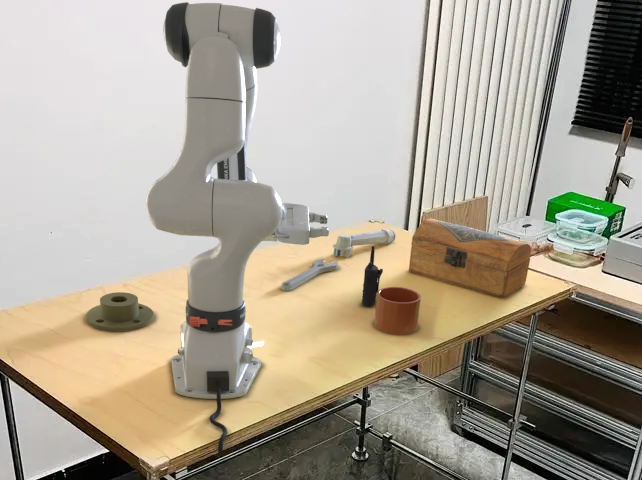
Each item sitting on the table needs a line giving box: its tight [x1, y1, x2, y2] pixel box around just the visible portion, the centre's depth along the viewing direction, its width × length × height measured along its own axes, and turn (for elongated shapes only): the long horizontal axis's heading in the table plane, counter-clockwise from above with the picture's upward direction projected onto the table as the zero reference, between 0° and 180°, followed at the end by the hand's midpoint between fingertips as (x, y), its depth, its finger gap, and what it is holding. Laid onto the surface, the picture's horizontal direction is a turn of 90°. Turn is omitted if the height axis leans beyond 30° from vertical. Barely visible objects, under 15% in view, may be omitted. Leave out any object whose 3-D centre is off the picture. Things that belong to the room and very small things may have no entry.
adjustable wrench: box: [281, 258, 339, 292], centre depth 220 cm, size 25×6×2 cm, turn 147°
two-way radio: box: [361, 245, 384, 308], centre depth 202 cm, size 6×4×15 cm
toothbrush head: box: [332, 228, 397, 258], centre depth 242 cm, size 5×7×25 cm
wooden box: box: [408, 217, 532, 299], centre depth 224 cm, size 30×16×14 cm, turn 55°
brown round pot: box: [373, 286, 422, 336], centre depth 193 cm, size 10×10×8 cm
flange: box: [85, 291, 154, 332], centre depth 186 cm, size 5×15×15 cm
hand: (328, 225), depth 195 cm, fingers open, 8 cm apart
